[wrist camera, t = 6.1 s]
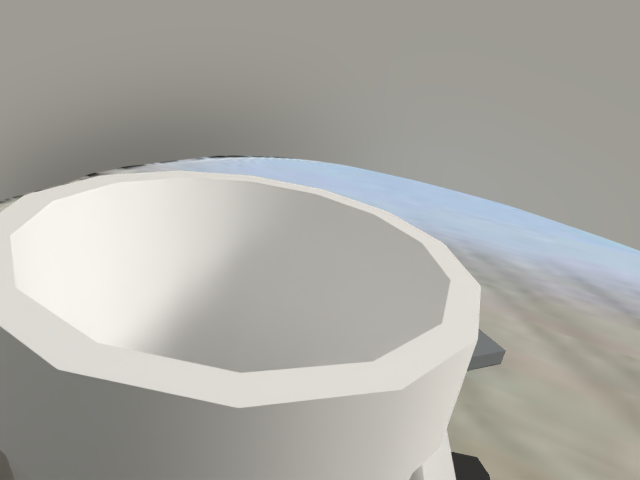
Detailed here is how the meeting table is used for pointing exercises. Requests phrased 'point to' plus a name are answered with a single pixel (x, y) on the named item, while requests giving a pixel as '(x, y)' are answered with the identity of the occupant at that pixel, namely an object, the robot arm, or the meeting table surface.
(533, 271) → the meeting table surface
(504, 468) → the meeting table surface
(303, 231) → the foam cup
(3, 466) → the robot arm
